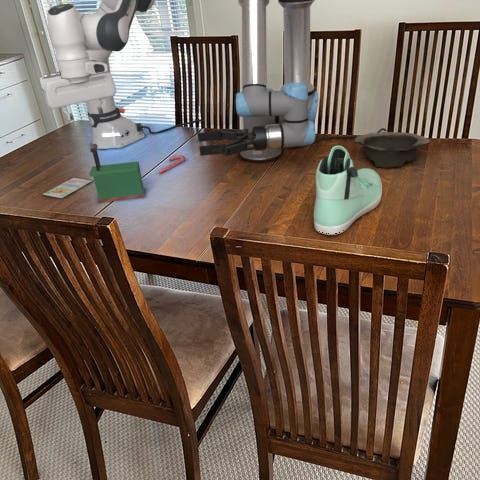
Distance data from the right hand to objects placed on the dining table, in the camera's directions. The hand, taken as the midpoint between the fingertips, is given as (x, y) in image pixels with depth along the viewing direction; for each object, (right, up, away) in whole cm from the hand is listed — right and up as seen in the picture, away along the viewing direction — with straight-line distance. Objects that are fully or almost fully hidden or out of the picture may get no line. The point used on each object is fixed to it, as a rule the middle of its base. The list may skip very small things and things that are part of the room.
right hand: (198, 144), depth 150 cm
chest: (-26, -16, +7) cm, 31 cm away
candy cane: (-13, -3, +26) cm, 29 cm away
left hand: (-33, +7, -7) cm, 34 cm away
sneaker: (+44, -21, -11) cm, 50 cm away
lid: (-27, -8, +2) cm, 28 cm away
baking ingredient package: (-46, -12, +15) cm, 50 cm away
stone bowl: (+65, -2, +18) cm, 67 cm away
